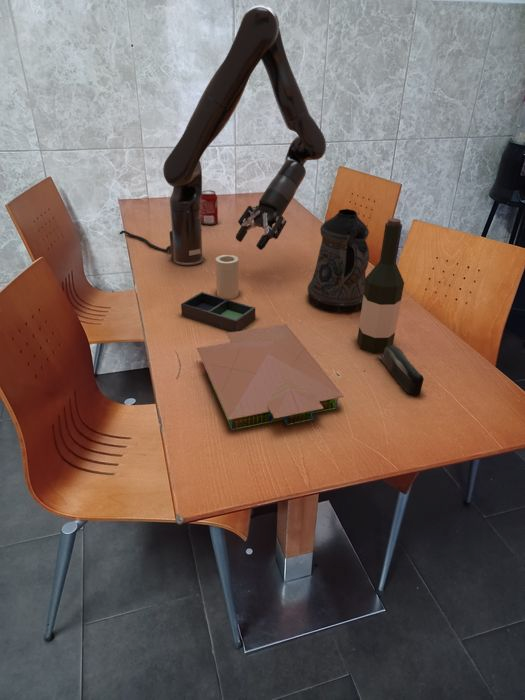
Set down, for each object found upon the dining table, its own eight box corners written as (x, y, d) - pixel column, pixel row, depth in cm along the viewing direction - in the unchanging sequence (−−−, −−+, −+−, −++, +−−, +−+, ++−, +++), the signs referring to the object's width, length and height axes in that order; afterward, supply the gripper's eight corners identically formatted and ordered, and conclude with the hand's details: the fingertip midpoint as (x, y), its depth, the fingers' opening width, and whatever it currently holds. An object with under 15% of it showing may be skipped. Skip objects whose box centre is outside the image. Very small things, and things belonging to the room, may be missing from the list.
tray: (181, 315, 129) (180, 303, 128) (202, 303, 136) (201, 291, 134) (236, 333, 122) (236, 321, 120) (255, 319, 128) (255, 307, 127)
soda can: (215, 226, 193) (214, 194, 187) (198, 224, 194) (197, 193, 188) (219, 221, 199) (219, 190, 192) (203, 219, 200) (202, 189, 193)
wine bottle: (371, 357, 114) (392, 228, 98) (349, 340, 120) (365, 217, 105) (399, 349, 117) (424, 223, 102) (377, 333, 124) (396, 212, 108)
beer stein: (332, 283, 149) (340, 198, 136) (387, 304, 137) (402, 214, 124) (294, 299, 139) (300, 209, 126) (351, 324, 127) (363, 228, 114)
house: (232, 443, 88) (232, 407, 84) (192, 350, 115) (190, 319, 111) (348, 418, 95) (353, 383, 91) (285, 335, 121) (287, 305, 117)
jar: (212, 295, 140) (211, 260, 135) (224, 287, 145) (224, 253, 139) (230, 300, 137) (230, 264, 132) (242, 292, 142) (242, 257, 136)
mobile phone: (427, 376, 99) (390, 338, 111) (414, 378, 98) (378, 339, 110) (422, 396, 102) (387, 356, 114) (409, 398, 101) (375, 358, 113)
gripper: (254, 182, 141) (224, 230, 140) (290, 192, 133) (259, 243, 132) (267, 198, 147) (238, 244, 146) (303, 208, 139) (272, 258, 138)
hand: (248, 244), depth 139 cm, fingers open, 8 cm apart
